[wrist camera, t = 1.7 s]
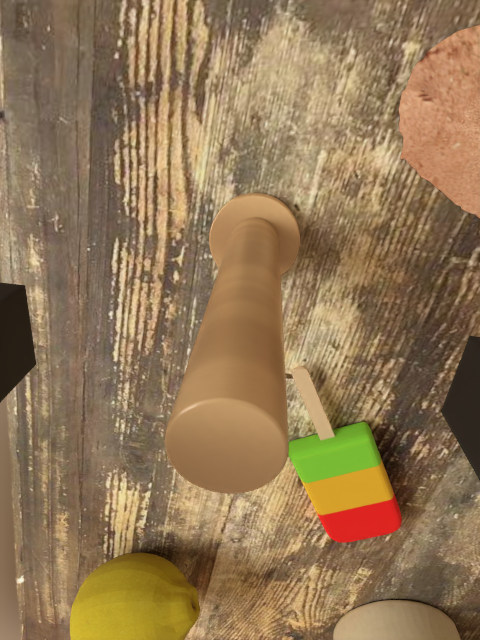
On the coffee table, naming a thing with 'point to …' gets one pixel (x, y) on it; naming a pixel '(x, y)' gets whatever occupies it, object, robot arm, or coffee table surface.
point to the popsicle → (343, 473)
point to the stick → (238, 355)
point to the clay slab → (446, 118)
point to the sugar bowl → (395, 622)
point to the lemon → (134, 601)
